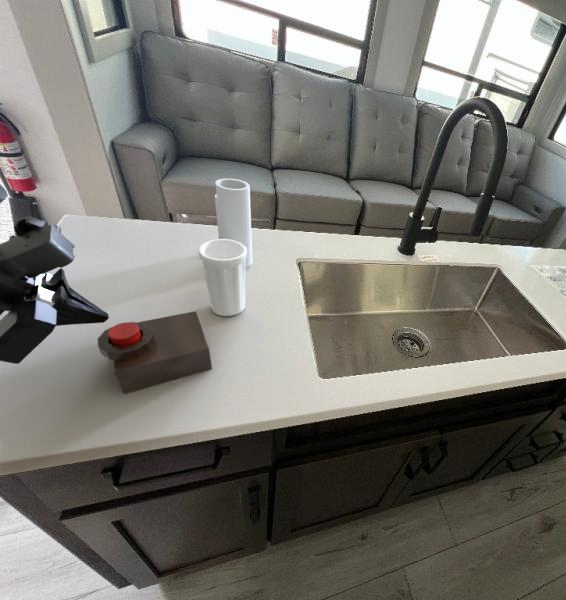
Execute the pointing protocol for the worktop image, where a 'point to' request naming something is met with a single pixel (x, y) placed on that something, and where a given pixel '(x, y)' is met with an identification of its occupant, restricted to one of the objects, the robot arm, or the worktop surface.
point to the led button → (124, 334)
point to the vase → (234, 213)
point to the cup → (225, 274)
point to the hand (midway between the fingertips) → (106, 318)
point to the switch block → (159, 352)
